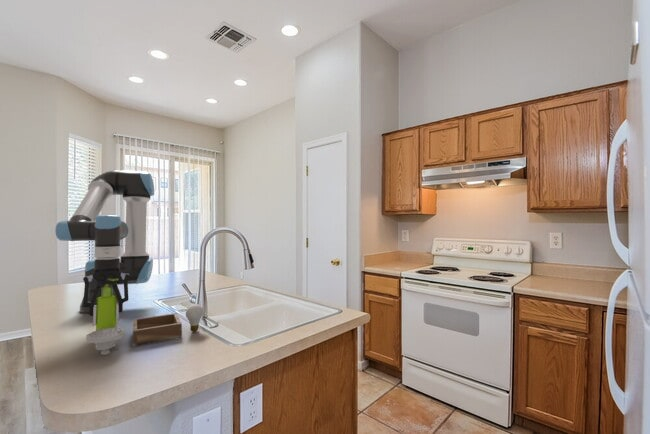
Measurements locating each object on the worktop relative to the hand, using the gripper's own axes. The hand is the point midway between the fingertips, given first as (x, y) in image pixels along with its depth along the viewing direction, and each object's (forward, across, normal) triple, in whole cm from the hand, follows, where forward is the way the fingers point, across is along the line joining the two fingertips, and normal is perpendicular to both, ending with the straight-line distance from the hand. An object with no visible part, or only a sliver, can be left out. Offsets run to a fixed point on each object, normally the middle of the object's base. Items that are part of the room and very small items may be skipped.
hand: (106, 323), depth 112 cm
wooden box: (+4, +15, -11) cm, 19 cm away
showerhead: (+4, +1, -20) cm, 20 cm away
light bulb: (+4, +27, -14) cm, 31 cm away
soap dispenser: (+4, 0, 0) cm, 4 cm away
